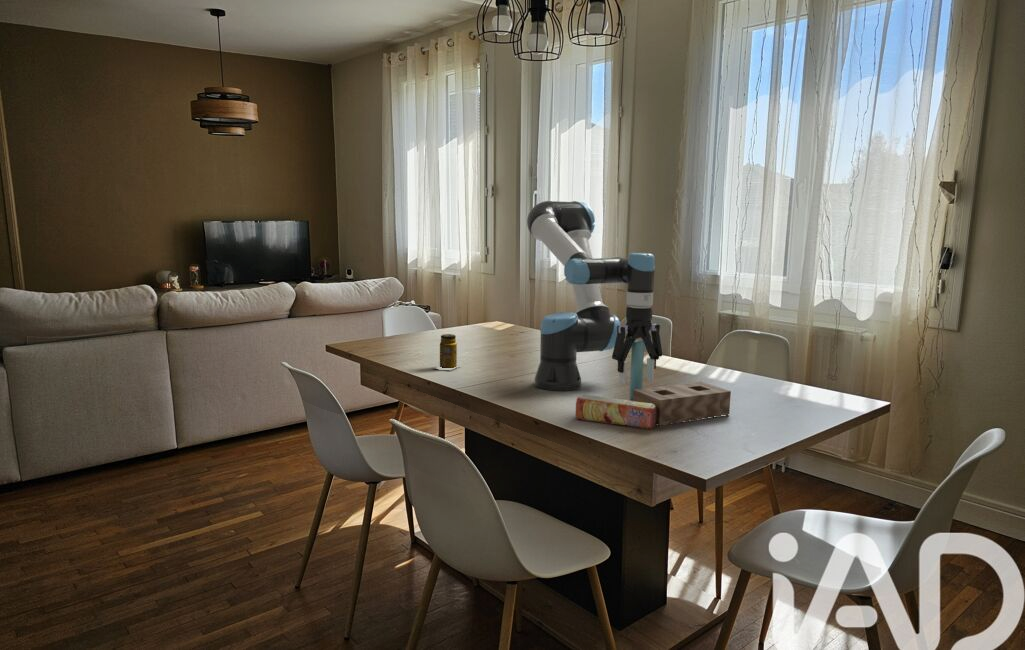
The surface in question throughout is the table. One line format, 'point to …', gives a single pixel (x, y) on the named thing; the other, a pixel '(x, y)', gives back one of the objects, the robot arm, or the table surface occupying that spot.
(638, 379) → the peg
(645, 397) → the hole block
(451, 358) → the condiment
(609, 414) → the snack package
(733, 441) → the table surface
